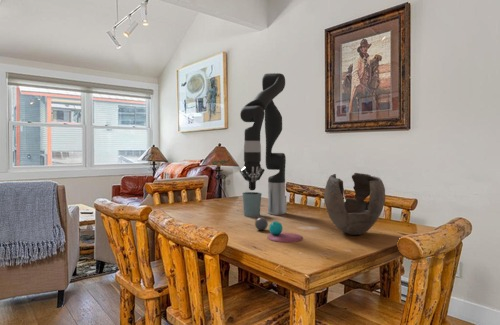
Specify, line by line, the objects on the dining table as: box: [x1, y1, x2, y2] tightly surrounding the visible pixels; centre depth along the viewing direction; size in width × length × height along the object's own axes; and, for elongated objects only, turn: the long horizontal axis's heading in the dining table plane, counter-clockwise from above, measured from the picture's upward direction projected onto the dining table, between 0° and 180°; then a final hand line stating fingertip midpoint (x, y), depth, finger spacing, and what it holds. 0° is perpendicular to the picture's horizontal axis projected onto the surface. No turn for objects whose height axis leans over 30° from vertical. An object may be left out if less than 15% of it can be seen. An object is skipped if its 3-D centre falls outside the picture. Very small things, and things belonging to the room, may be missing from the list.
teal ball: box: [268, 220, 283, 235], centre depth 139 cm, size 6×6×6 cm
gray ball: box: [254, 216, 269, 231], centre depth 147 cm, size 6×6×6 cm
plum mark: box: [267, 232, 303, 243], centre depth 135 cm, size 14×14×1 cm
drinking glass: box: [242, 191, 263, 218], centre depth 180 cm, size 10×10×12 cm
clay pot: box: [323, 172, 386, 236], centre depth 139 cm, size 24×24×25 cm
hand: (252, 190), depth 151 cm, fingers closed
